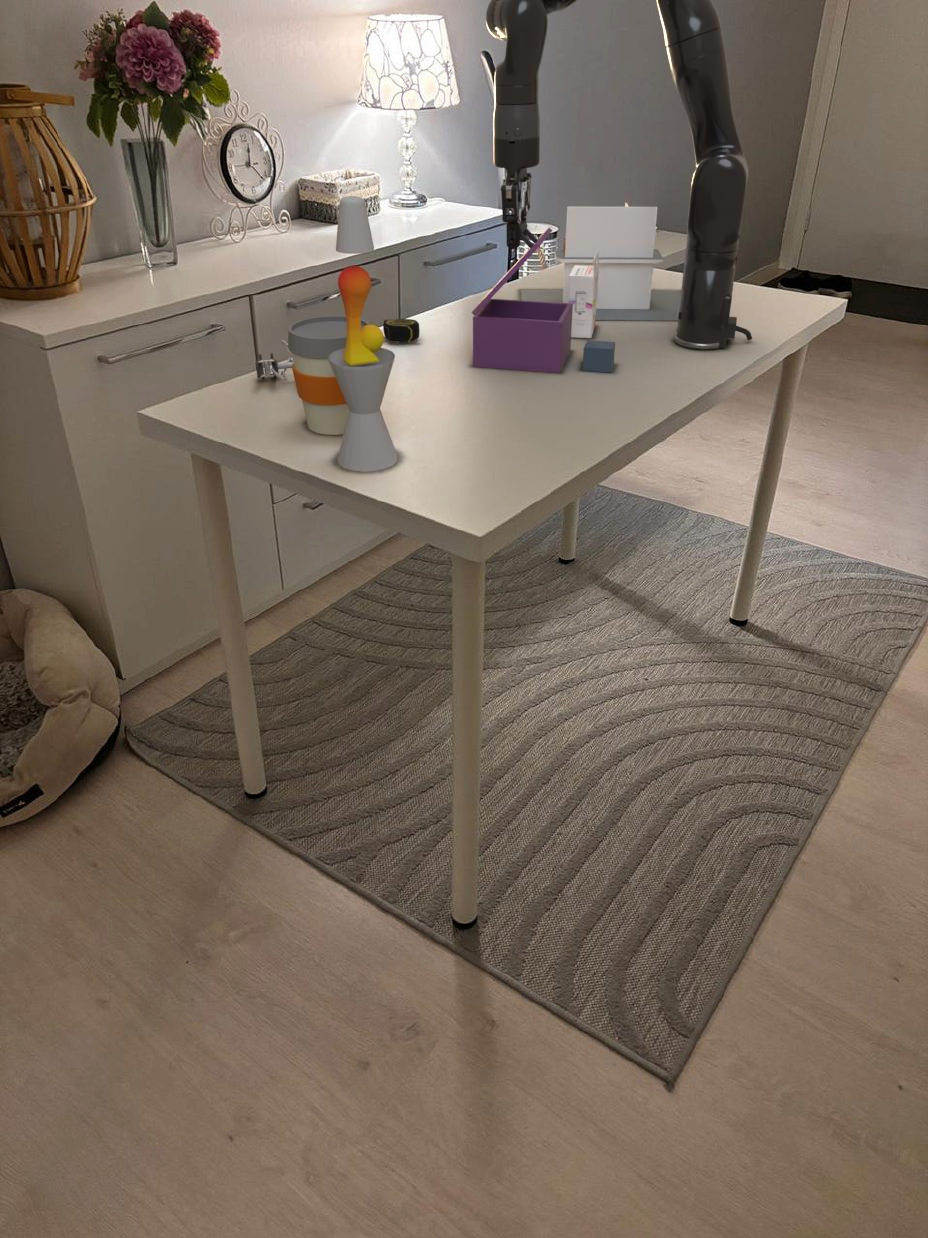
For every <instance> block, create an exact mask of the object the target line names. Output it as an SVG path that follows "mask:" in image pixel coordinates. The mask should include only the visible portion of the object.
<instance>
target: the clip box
mask: <svg viewBox="0 0 928 1238" xmlns="http://www.w3.org/2000/svg"><path fill="white" fill-rule="evenodd" d="M615 350H616V341H605V340H591V339H590V340H589V339H587V340H586V342H585V344H584V346H583V355H582V371H583V372H584V371H585V372H596V373H597V372H598V373H610V374H611V373H612V370H613V368H614V364H615Z"/></svg>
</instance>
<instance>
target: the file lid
mask: <svg viewBox="0 0 928 1238" xmlns="http://www.w3.org/2000/svg"><path fill="white" fill-rule="evenodd" d="M551 232H553V230H552V229H551V227H548V228H546V230H545V231H544V232H543V233H542V234H541V235H540V236H539V237H538V238H537V237H536V236H535V235H534V234H533V233H532V232H531V231H530V230H529V228H528V223H527V221H526V222H525V221H521V222H520V238H521V239H522V240H523V241H522V242H524V243H525V244H526V246H527V247H528V249H527V250H526V251H525V253H524V254H523V255H522V256H521V257H520V258H519V259H518V260H517V262H515V263H514V265H512V266H511V268H510V269H508V271H507V272H506V273H505V274H504V275H503V276H502V277H501V278H500V279H499V281H498V282H497V283H496V284H495V285H494V286H493V287H492V288H491V289H490V290H489V291H488V292H487V294H485V296H483V298H482V299H481V300H480V302H479V303H478V304H477V305H476V307H475V308H474V309H473V310H472V311H471V314H472V315H473V316H475V315H476V314H477V313H478V312H479V311H480V310H481V309H482V307H483V306H484V305H485V304H486V303H487V302H488V301H489V300H490V299H493V297H494V296H495V295H496V294H497V292H499V291H500V289H501V288H503V286H504V285H505V284H506V283H507V282H508V281H509V280H510V279H511V277H512V276H513V275H514V274H516V272H517V271H518V270H519V269H520V268H521V267H522V266H523V265H524V264H525V262H527V260H528V259H530V257H531V256H532V255H533V254H534V253H535V252H536V251H537V250H538V249H539V248H540V246H542V244H543V243H544V242H545V240H546V239H547V238H548V236H550V234H551ZM523 233H525V234H526V236H525V235H524V234H523Z"/></svg>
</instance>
